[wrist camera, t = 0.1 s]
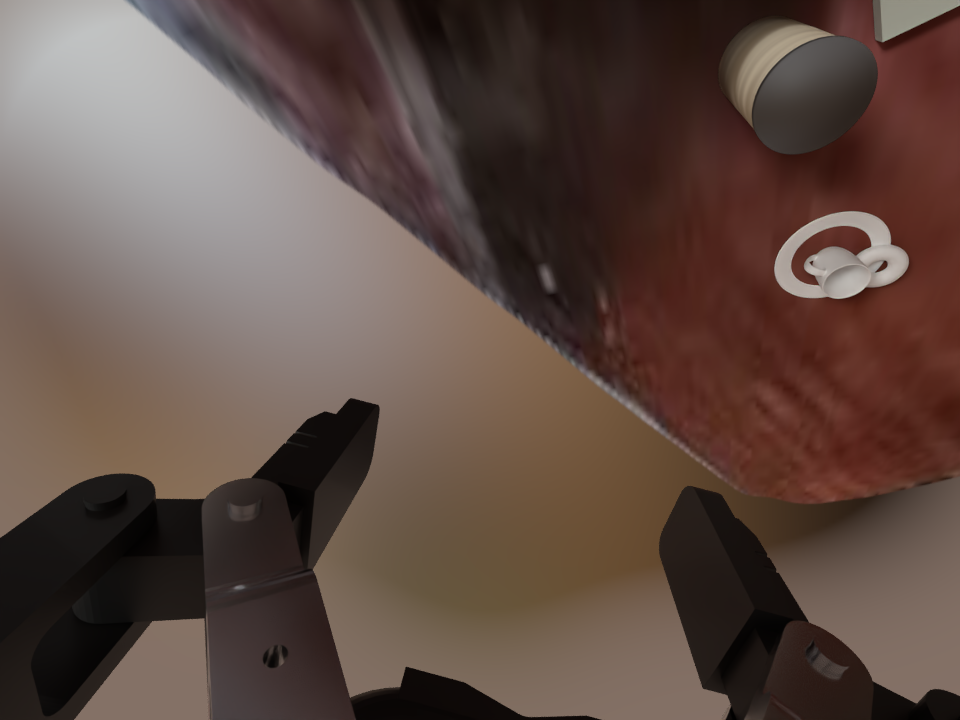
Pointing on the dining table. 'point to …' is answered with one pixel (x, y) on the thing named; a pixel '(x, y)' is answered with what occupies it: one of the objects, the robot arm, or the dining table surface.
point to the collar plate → (906, 15)
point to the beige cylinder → (797, 82)
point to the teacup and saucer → (842, 259)
